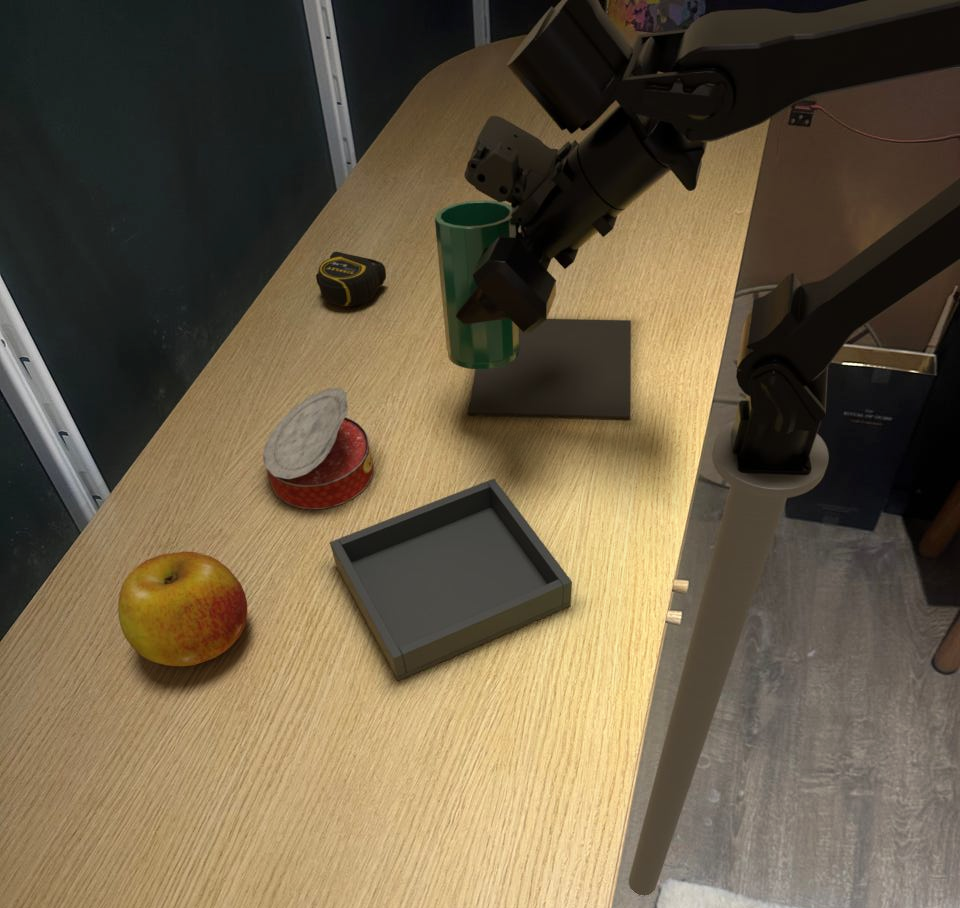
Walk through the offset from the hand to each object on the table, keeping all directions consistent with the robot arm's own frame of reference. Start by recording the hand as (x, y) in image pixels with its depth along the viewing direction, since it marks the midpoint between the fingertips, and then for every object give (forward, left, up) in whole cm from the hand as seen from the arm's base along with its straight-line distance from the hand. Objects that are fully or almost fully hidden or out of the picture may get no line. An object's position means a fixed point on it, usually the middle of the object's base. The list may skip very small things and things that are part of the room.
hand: (471, 295), depth 75 cm
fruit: (+20, +30, -13) cm, 38 cm away
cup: (-1, +1, -5) cm, 5 cm away
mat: (-7, -7, -13) cm, 16 cm away
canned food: (+14, +10, -13) cm, 21 cm away
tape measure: (+17, -20, -13) cm, 30 cm away
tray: (0, +23, -13) cm, 26 cm away
